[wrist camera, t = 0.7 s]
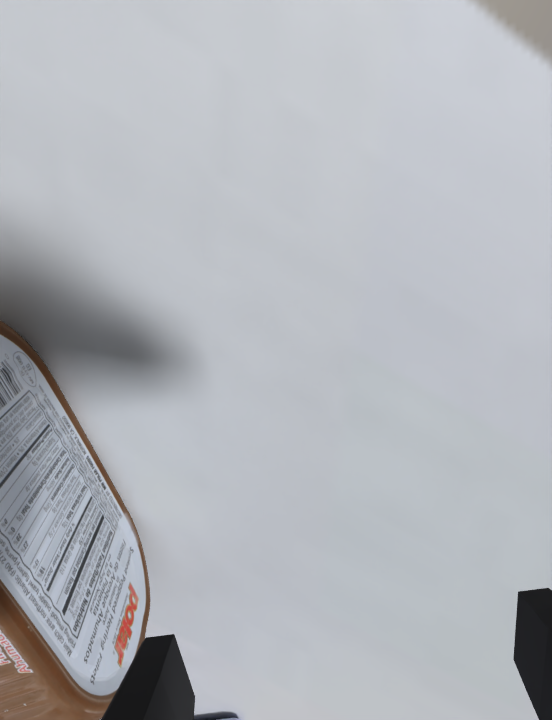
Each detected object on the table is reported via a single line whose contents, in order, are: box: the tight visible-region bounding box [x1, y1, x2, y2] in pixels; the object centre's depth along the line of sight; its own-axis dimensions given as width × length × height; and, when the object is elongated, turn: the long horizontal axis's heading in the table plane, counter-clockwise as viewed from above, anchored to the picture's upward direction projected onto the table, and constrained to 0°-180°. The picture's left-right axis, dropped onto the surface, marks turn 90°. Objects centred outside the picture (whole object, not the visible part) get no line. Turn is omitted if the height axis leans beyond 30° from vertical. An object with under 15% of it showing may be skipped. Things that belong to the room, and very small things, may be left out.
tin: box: [0, 321, 150, 720], centre depth 15 cm, size 15×3×8 cm, turn 18°
